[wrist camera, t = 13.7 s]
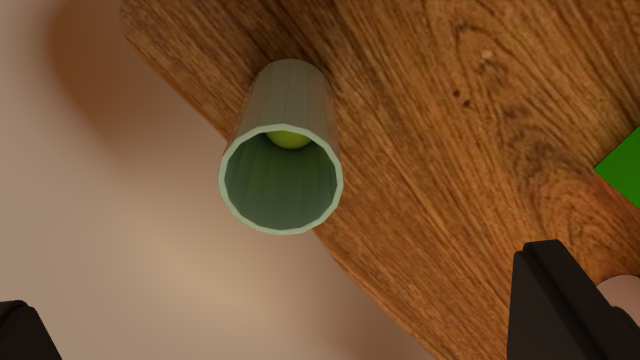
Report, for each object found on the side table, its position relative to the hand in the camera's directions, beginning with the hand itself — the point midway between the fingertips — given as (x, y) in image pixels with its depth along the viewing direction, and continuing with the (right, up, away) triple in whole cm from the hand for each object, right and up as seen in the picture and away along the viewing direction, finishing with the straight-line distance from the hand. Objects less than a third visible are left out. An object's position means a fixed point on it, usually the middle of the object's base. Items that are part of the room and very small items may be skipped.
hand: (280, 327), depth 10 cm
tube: (-1, +8, +23) cm, 24 cm away
